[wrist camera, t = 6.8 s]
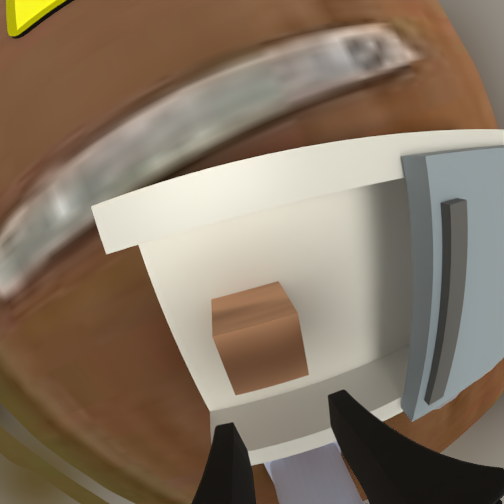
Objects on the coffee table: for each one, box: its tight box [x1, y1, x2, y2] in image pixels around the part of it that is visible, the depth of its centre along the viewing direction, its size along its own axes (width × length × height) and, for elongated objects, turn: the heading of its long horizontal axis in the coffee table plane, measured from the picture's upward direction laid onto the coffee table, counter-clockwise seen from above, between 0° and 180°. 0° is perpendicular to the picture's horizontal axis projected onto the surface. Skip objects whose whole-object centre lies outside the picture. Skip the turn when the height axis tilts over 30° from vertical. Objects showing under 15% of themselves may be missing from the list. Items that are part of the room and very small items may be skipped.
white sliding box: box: [91, 129, 504, 466], centre depth 16 cm, size 18×24×6 cm
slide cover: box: [401, 145, 504, 422], centre depth 12 cm, size 16×10×2 cm, turn 13°
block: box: [211, 281, 309, 395], centre depth 15 cm, size 4×4×4 cm
